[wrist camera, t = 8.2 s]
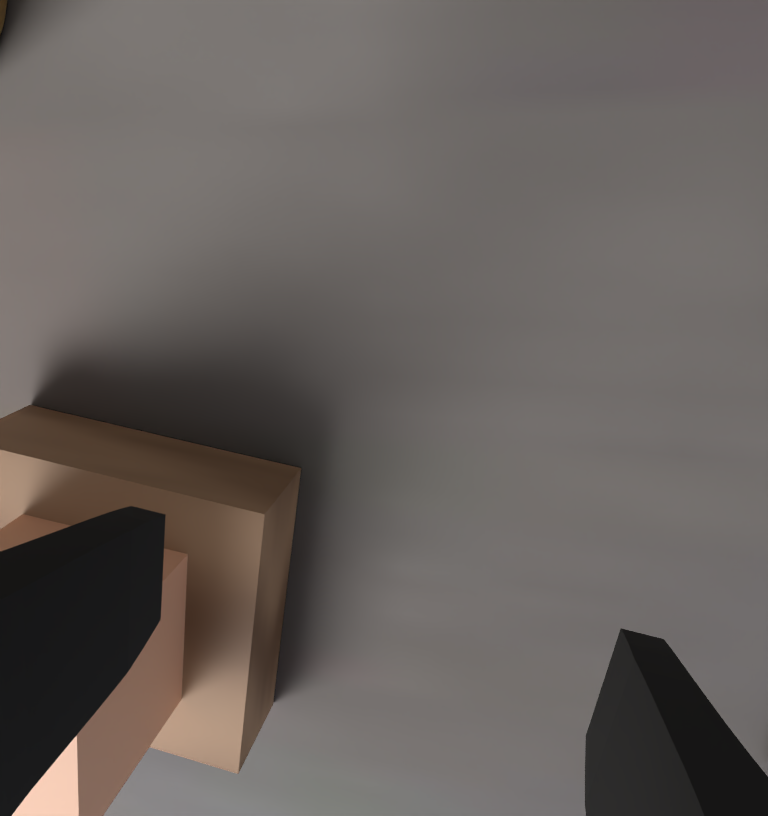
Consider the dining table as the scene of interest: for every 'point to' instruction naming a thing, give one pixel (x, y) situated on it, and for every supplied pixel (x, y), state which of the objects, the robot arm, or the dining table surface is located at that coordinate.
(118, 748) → the terracotta cube
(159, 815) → the dining table surface
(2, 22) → the plant pot
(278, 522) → the tan square slab
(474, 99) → the dining table surface
